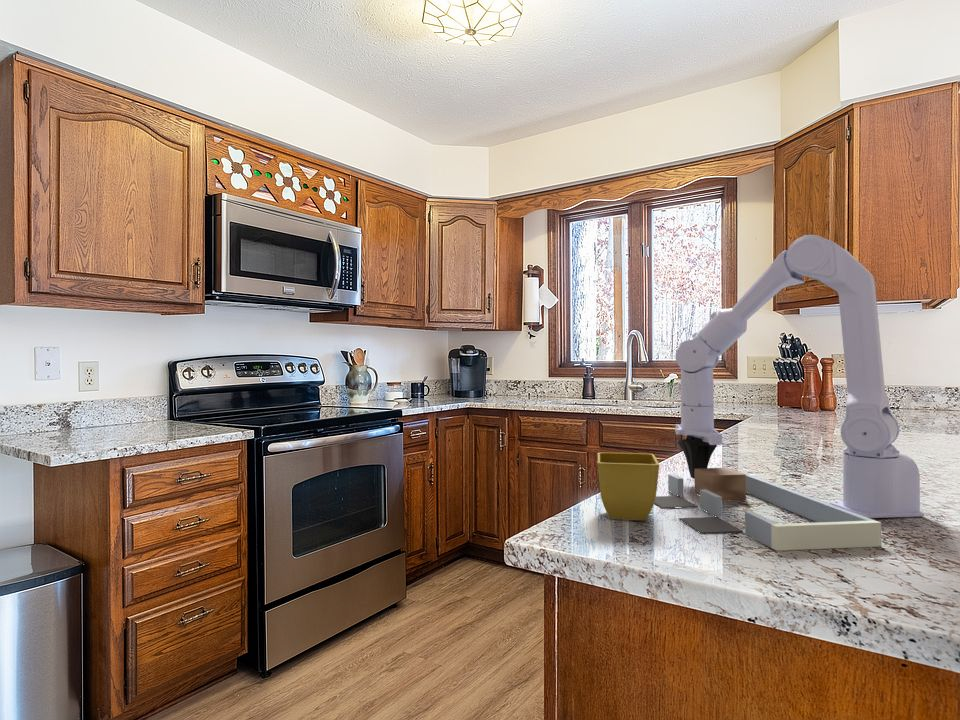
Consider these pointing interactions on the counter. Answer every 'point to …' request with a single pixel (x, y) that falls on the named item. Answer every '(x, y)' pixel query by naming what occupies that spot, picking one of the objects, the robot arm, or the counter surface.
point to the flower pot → (628, 484)
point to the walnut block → (721, 483)
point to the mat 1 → (672, 502)
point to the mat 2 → (710, 525)
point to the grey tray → (775, 495)
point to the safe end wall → (825, 535)
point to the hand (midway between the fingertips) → (697, 478)
